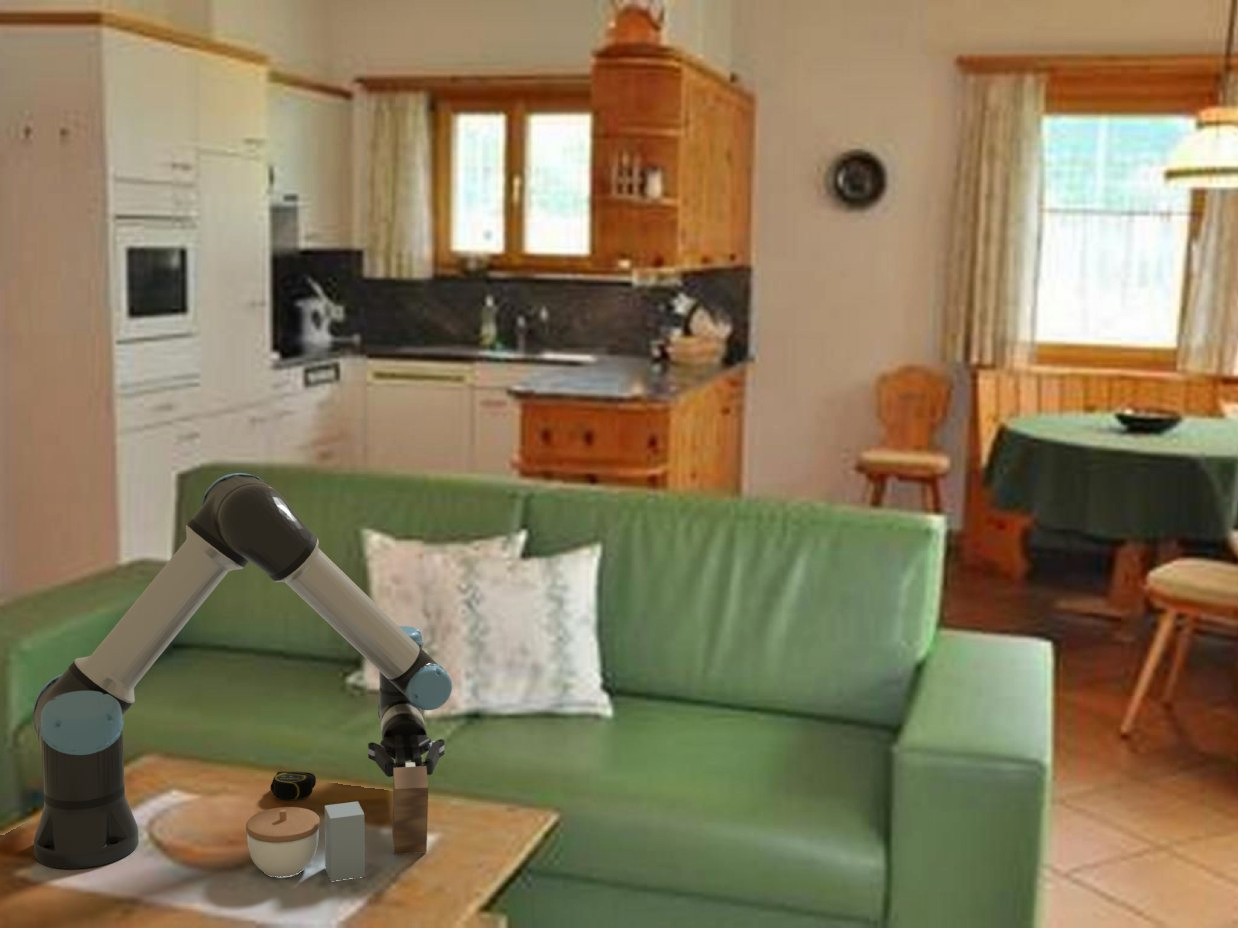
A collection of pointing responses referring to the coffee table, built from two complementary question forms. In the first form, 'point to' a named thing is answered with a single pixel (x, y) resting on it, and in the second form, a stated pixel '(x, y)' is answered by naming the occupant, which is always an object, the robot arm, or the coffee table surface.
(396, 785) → the walnut block
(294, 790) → the tape measure
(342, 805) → the slate block
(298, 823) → the lidded jar
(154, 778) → the coffee table surface
